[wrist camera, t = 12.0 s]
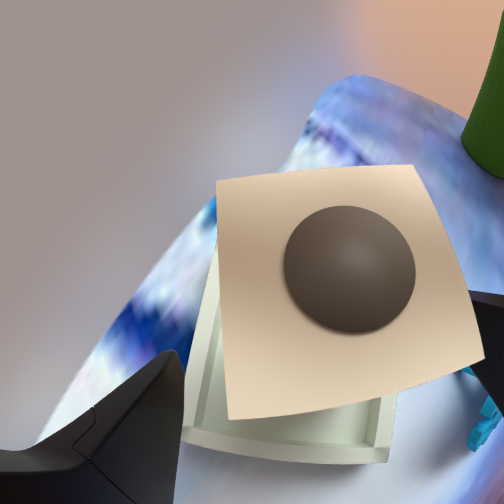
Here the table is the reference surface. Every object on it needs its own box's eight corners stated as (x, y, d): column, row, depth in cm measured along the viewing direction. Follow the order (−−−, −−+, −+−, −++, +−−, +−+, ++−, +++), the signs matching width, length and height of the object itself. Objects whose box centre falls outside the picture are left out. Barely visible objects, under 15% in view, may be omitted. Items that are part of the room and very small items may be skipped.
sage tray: (371, 453, 14) (387, 462, 11) (188, 433, 15) (173, 439, 13) (384, 274, 20) (398, 255, 17) (225, 258, 21) (217, 237, 19)
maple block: (347, 389, 15) (487, 357, 4) (265, 401, 15) (227, 420, 4) (334, 313, 18) (413, 161, 6) (257, 324, 18) (215, 177, 6)
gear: (465, 477, 10) (508, 394, 7) (413, 442, 15) (421, 354, 12) (530, 376, 13) (555, 277, 10) (484, 357, 18) (494, 264, 16)
